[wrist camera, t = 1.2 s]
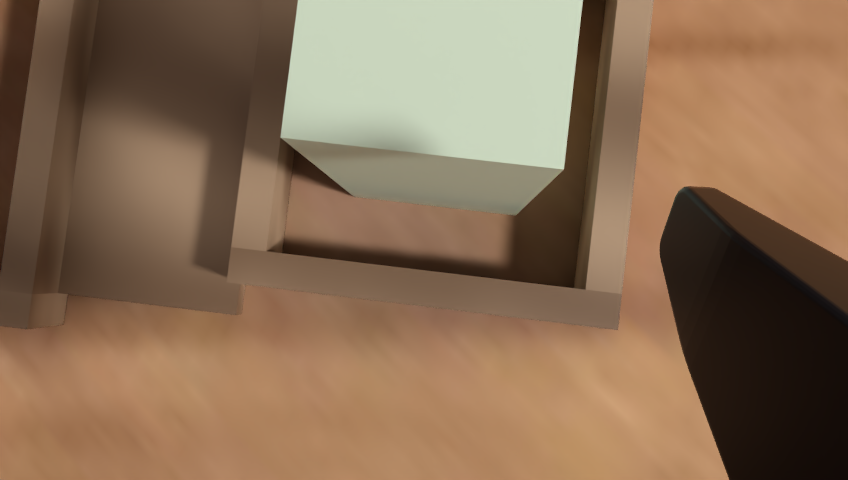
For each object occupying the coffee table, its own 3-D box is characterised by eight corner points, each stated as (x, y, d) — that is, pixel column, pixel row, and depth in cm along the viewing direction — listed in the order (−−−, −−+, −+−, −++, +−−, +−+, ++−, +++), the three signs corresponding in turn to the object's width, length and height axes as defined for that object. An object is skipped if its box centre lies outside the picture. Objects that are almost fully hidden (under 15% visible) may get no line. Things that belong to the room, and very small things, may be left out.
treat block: (515, 215, 23) (563, 169, 13) (354, 196, 23) (280, 137, 13) (534, 55, 23) (595, -111, 13) (373, 38, 23) (315, -138, 13)
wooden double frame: (596, 391, 23) (610, 402, 21) (-365, 271, 24) (-439, 270, 22) (649, -94, 23) (667, -129, 21) (-290, -186, 25) (-355, -227, 23)
